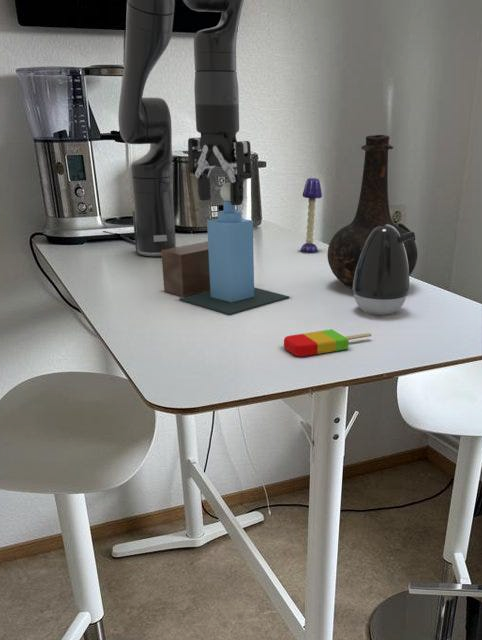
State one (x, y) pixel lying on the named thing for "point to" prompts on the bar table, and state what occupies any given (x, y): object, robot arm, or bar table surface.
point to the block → (186, 269)
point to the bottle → (230, 253)
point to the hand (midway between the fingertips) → (220, 202)
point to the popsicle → (318, 342)
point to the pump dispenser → (382, 271)
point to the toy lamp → (311, 212)
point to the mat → (230, 308)
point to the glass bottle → (367, 214)
